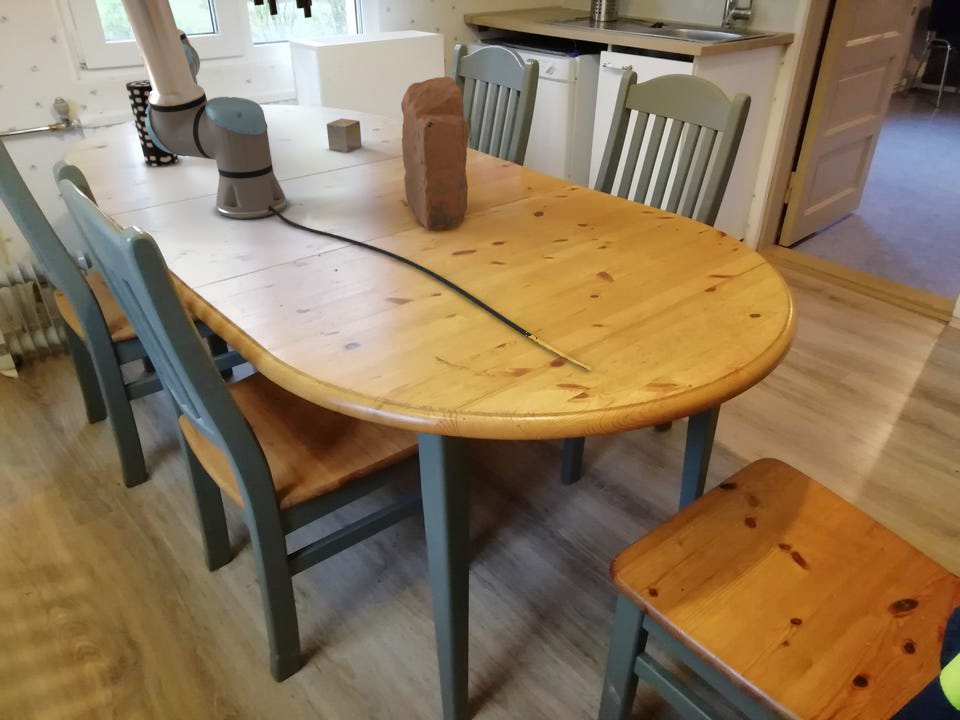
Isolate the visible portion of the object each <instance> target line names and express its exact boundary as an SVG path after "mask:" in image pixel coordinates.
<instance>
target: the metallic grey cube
mask: <svg viewBox="0 0 960 720" xmlns="http://www.w3.org/2000/svg"><path fill="white" fill-rule="evenodd" d="M326 132H327V141H328V150H329V151H335V152H341V153H350V152H353V151H355V150H357V149H359V148H361V147H362V146H363V145H362V132H361V121H360V120H357V119H349V118H338V119H336V120H334V121H331V122H328V123H326Z"/></svg>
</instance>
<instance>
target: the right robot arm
mask: <svg viewBox="0 0 960 720" xmlns="http://www.w3.org/2000/svg"><path fill="white" fill-rule="evenodd" d="M120 2H121V4H122V7H123V10H124V12H125V15H126V19H127V22H128V24H129V26H130V29H131V32H132V35H133V38H134V41H135V44H136V47H137V50H138V53H139V55H140V59H141V61H142V64H143V66H144V70H145V72H146V75H147V78H148V80H149V81H150V84H151V87H152V92H151V94H150V96H149V98H148V100H149V103H150V104H149V105H148V107H147V109H146V115H147V117H146V118H145V125H146V129H147V132H148V134H149V136H150V138H151V140H152V141H153V142H154V143H155V144H156V146H158V147H159V148H160V149H162V150H163V151H165V152H168V153H173V154H176V155H178V157H179V156H180V157H192V158H199V159H207V160H215V161H216V167H217V169H218V170H217V172H218V185H217V193H216V201H215V206H216V210H217V213H218V214H219V215H221V216H223V217H225V218H229V219H236V220H253V219H260V218H261V219H262V218H265V217H266V218H267V217H270V216H274V215H276V217H277V218H279V219H280V220H281V221H283V222H285V223H286V224H287V225H290V226H292V227H293V228H296V229H300V230H303V231H305V232H308V233H313V234H316V235H321V236H325V237H328V238H332V239H336V240H340V241H342V242H346V243H350V244H353V245H357V246H359V247H362V248H364V249H369V250H371V251H373V252H374V251H375V252H376V253H379V254H383V255H385V256H387V257H388V256H389V257H391V258H393V259H396V260H398V261H400V262H402V263H405V264H406V265H409V266H411V267H414V268H415V269H417V270H419V271H422V272H423V273H425V274H427V275H428V276H430V277H433V278H434V279H435V280H438V281H440V282H441V283H443V284H445V285H446V286H448V287H450V288H451V289H453V290H455V291H456V292H458V293H459V294H461V295H462V296H463V297H465V298H467V299H469V300H470V301H472V302H473V303H475V304H476V305H478V306H479V307H481V308H482V309H483V310H485V311H487V312H488V313H490V314H491V315H492V316H494V317H495V318H497V319H499V320H500V321H501V322H503V323H505V324H506V326H507V325H508V326H509V327H510V328H512V329H514V330H515V331H516V332H518V333H520V334H521V335H523V336H525V335H527V337H526V338H528V336H531V335H533V334H532V333H530V332H529V331H527V330H526V329H524V328H523V327H521V326H520V325H517V324H516V323H514V321H511V320H510V319H508V318H507V317H505V316H504V315H502V314H501V313H499V312H498V311H496V310H495V309H494V308H492V307H490V306H488V305H487V304H486V303H484V302H482V301H481V300H479V299H478V298H477V297H475V296H474V295H472V294H471V293H469V292H468V291H466V290H464V289H463V288H461V287H460V286H458V285H456V284H454V283H453V282H451V281H450V280H448V279H446V278H445V277H443V276H441V275H439V274H437V273H435V272H434V271H432V270H430V269H428V268H427V267H424V266H422V265H420V264H418V263H417V262H415V261H412V260H410V259H407V258H405V257H402V256H400V255H398V254H395V253H392V252H390V251H387V250H384V249H383V248H380V247H377V246H374V245H371V244H368V243H366V242H365V243H364V242H361V241H358V240H355V239H352V238H349V237H345V236H341V235H339V234H334V233H331V232H327V231H322V230H317V229H314V228H310V227H307V226H304V225H301V224H298V223H295V222H294V221H292V220H290V219H287V218H286V217H285V216H284V215H282V214H281V213H280V212H282V211H283V210H285V209H286V207H287V199H286V194H285V193H284V191H283V189H282V187H281V184H280V182H279V180H278V179H277V177H276V175H275V172H274V167H273V160H272V154H271V147H270V140H269V133H268V123H267V121H266V116H265V112H264V109H263V108H262V106H261V105H260V104H258V103H257V102H256V101H254V100H251V99H248V98H244V97H238V96H231V97H230V96H219V97H217V96H216V97H213V98H210V99H207V98H208V97H207V95H206V91H205V89H204V88H203V87H202V86H200V85H199V84H198V83H197V84H198V85H197V84H196V83H194V81H193V77H192V74H191V71H190V68H189V64H188V61H187V58H186V55H185V52H184V48H183V45H182V42H181V39H180V35H179V32H178V29H179V28H178V26H177V23H176V20H175V17H174V13H173V10H172V7H171V4H170V0H120ZM295 3H296V9H304V8H306V1H305V0H295ZM253 4H254V6H264V5H265V1H264V0H253ZM177 28H178V29H177ZM526 332H527V333H526ZM535 337H536V339H537V338H538V336H535Z"/></svg>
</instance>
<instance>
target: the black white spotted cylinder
mask: <svg viewBox="0 0 960 720" xmlns="http://www.w3.org/2000/svg"><path fill="white" fill-rule="evenodd" d="M125 87H126V91H127V95H128V99H129V103H130V107H131V110H132V115H133V118H134V124H135V127H136V130H137V134H138V139H139V143H140V146H141V150H142V155H143V158H144V163H145V164H146V165H147V166H151V167H164V166H170V165H174V164H176V163H178V162H179V155H176V154H173V153H168V152H165V151H163V150H162V149H160V148H159V147H158V146H156V144H155V143H154V142H153V141H152V140H151V138H150V136H149V134H148V132H147V129H146V125H145V118H146V117H147V115H146V109H147V107H148V105H149V104H150V103H149V100H148V98H149V96H150V94H151V92H152V87H151V84H150V81H149V79H145V80H144V79H141V80H134V81H130V82H129V81H128V82H127V83H126V84H125Z"/></svg>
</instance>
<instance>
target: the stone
mask: <svg viewBox="0 0 960 720" xmlns="http://www.w3.org/2000/svg"><path fill="white" fill-rule="evenodd" d="M400 107H401V112H402V114H403V115H402V116H403V118H402V119H403V120H402V121H403V122H402V130H401V133H402V138H401V147H402V161H403V167H404V170H405V174H404V178H403V179H404V180H403V181H404V190H405V197H406V201H407V203H408V204H409V207H410V208H411V210H412V212H413V213H414V215H415V217H416V219H417V220H418V221H419V223H420V224H421V225H422V226H424V228H425V230H427V231H440V230H447V229H453V228H456V227H457V226H458V225H459V224H460V223H462V222H464V220H465V217H466V216H465V215H466V212H467V209H468V190H469V186H468V177H467V169H466V168H467V167H466V166H467V156H468V143H469V142H468V141H469V121H467V120H466V119H465V115H464V113H465V111H464V110H465V109H464V108H465V107H464V99H463V95H462V91H461V88H460V87H459V85H457V81H455V80H454V78H453V77H451V76H438V77H434V78H429V79H425V80H423V81H419V82H413V83H412V84H410V85H409V86H408V88H407V89H406V91H405V92H404V95H403V96H402V99H401V103H400Z"/></svg>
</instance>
